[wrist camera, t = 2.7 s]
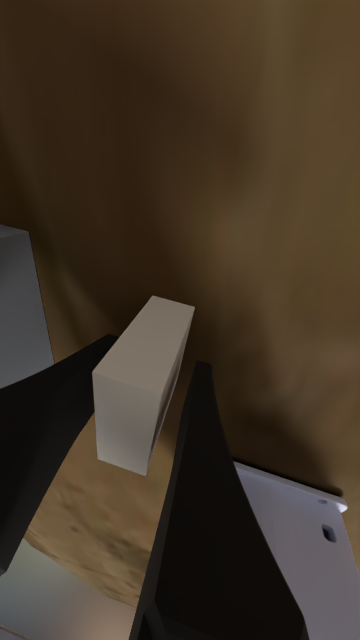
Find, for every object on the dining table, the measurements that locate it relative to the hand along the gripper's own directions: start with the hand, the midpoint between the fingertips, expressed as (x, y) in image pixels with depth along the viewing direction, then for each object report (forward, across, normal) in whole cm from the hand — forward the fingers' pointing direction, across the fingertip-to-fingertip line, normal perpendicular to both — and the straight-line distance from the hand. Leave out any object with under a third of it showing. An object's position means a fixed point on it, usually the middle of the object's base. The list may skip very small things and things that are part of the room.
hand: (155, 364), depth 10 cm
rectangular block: (+2, 0, 0) cm, 2 cm away
